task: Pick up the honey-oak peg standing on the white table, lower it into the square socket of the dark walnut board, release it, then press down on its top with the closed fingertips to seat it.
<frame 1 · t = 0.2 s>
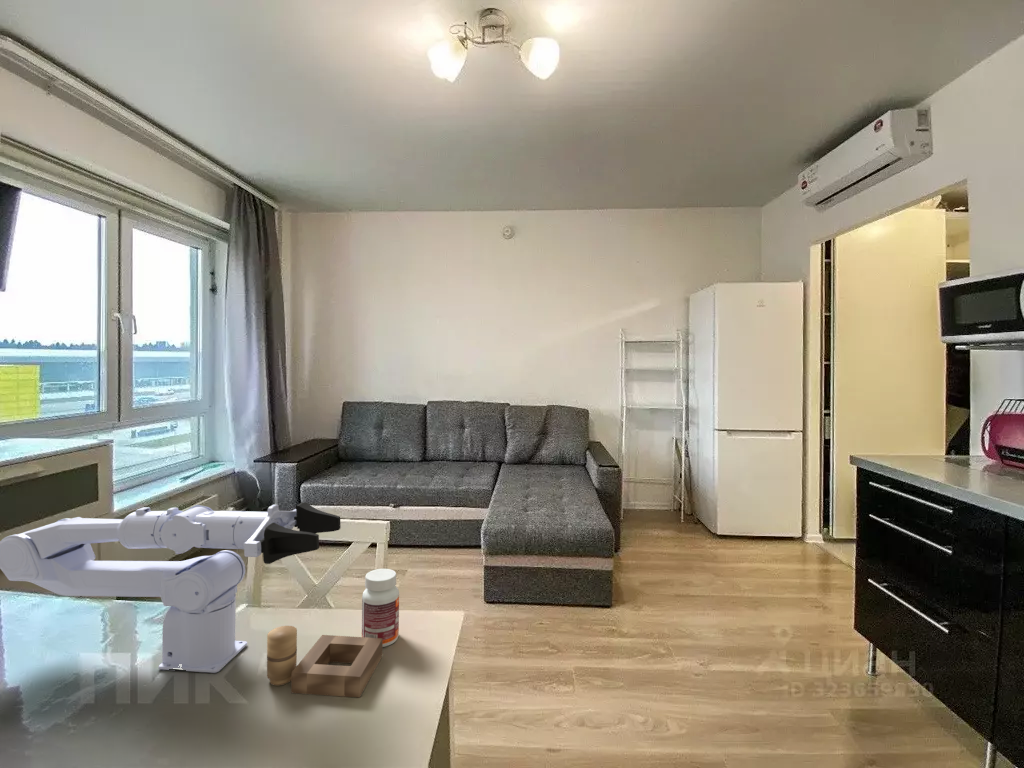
hand: (329, 532, 77), 21 cm above the table, tool horizontal, fingers open, 7 cm apart
peg: (281, 678, 74), on the table
board: (339, 673, 76), on the table
pill bottle: (380, 640, 86), on the table
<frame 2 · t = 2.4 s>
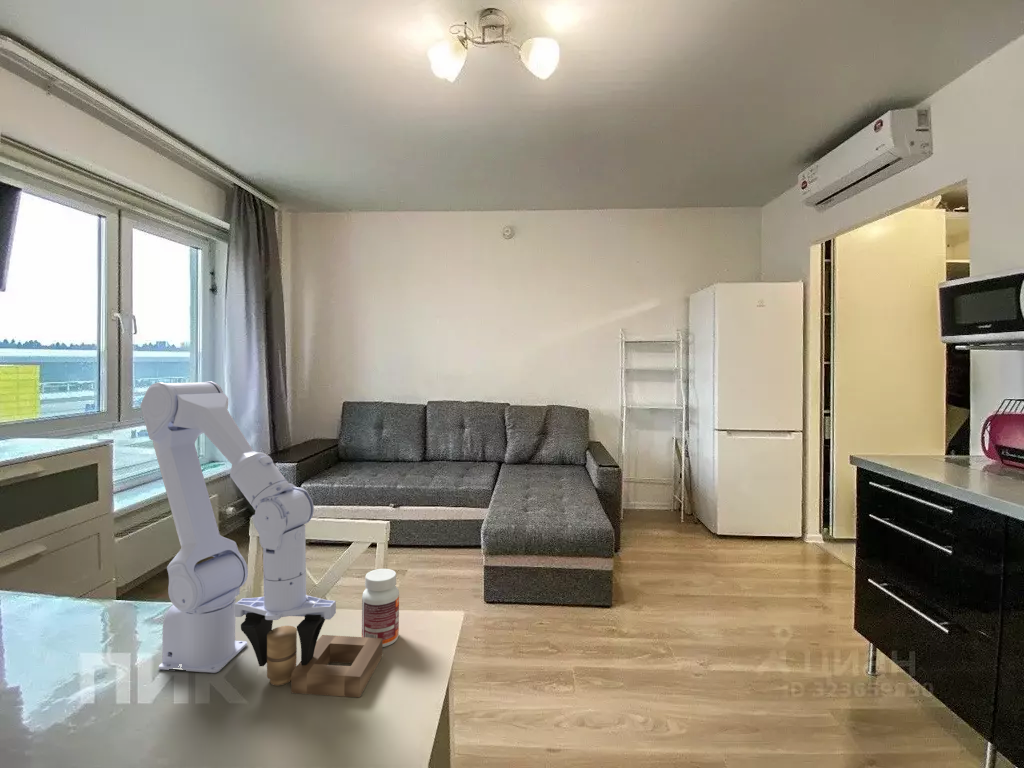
hand: (286, 663, 74), 2 cm above the table, tool pointing down, fingers open, 6 cm apart
nothing on the table moved.
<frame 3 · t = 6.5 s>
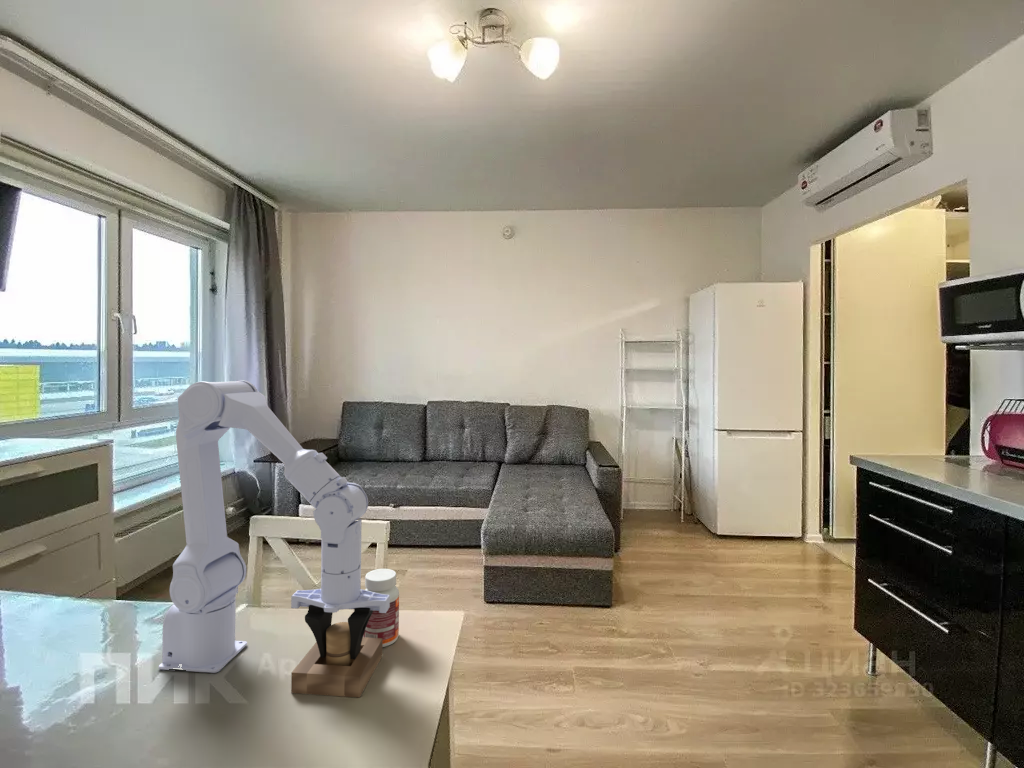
hand: (340, 654, 76), 3 cm above the table, tool pointing down, fingers closed on peg, 4 cm apart
peg: (340, 673, 76), resting in board, touching gripper
everything else where it was.
when the fingers open (3 cm above the table, at t = 7.8 s): peg stays where it is, resting in board.
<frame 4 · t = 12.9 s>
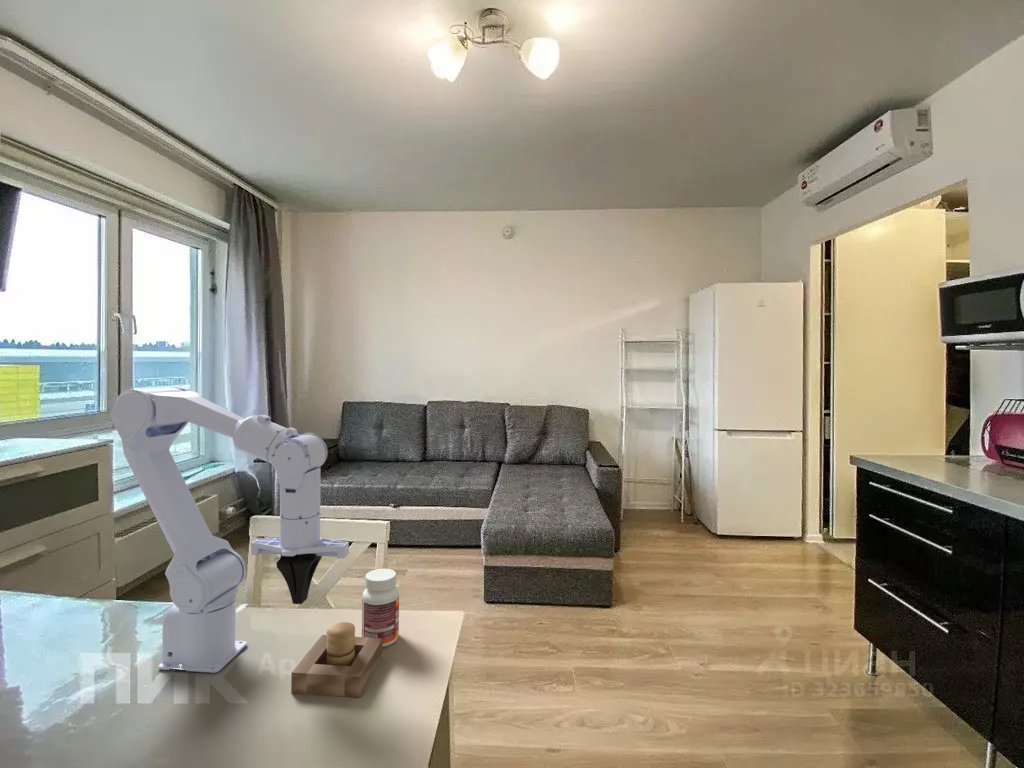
hand: (300, 601, 77), 10 cm above the table, tool pointing down, fingers closed
peg: (340, 674, 76), resting in board
everything else where it was.
at the end: peg 0.2 cm off-centre on the board, point 0.0 cm above the board's base; peg tilted 0°; the gripper is holding nothing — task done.
